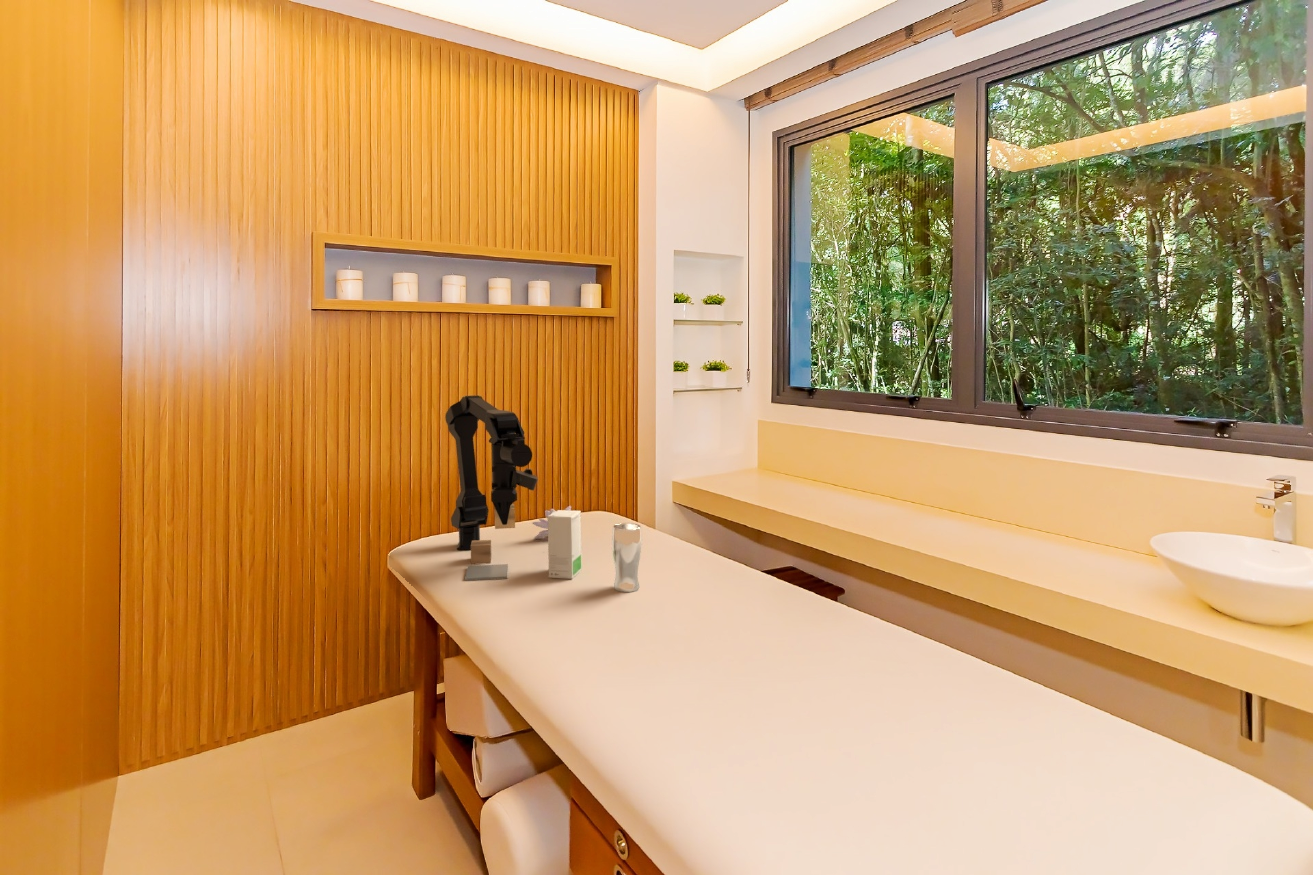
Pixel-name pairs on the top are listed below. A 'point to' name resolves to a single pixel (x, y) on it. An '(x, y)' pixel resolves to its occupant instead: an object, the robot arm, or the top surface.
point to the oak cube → (509, 523)
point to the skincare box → (564, 544)
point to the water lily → (545, 523)
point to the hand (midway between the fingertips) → (504, 522)
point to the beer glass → (626, 555)
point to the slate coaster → (486, 572)
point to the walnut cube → (481, 551)
